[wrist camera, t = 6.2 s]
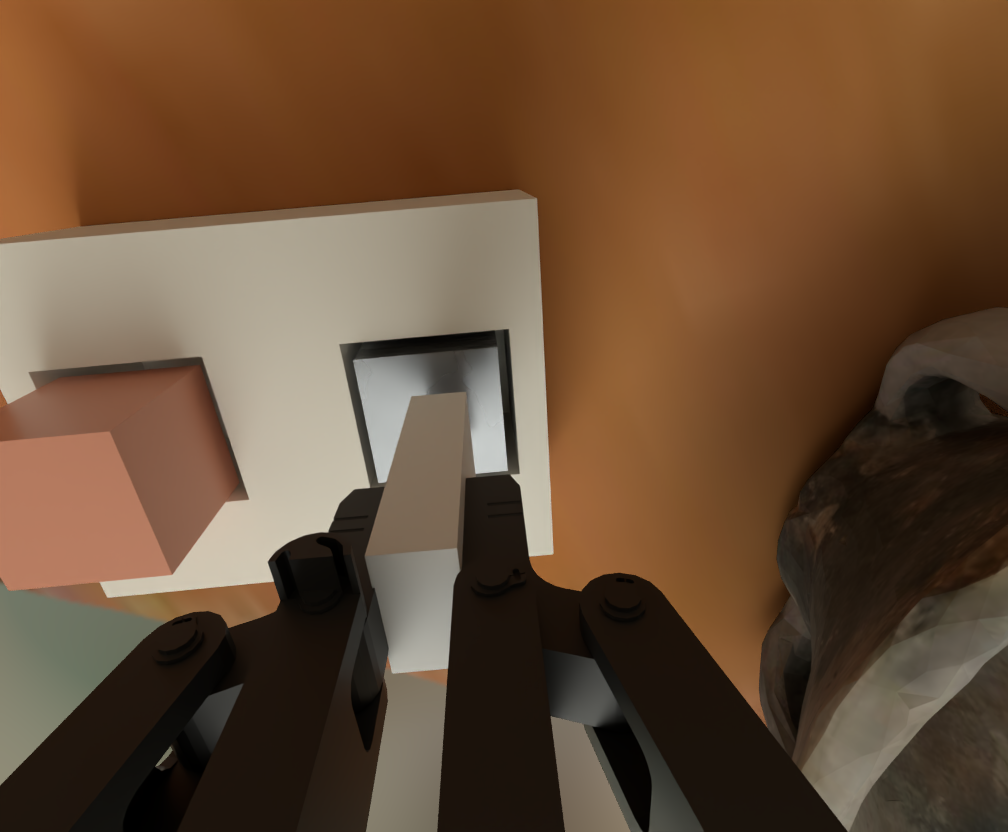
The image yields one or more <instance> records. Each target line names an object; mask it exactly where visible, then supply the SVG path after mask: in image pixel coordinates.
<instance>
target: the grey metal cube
mask: <svg viewBox="0 0 1008 832" xmlns="http://www.w3.org/2000/svg"><path fill="white" fill-rule="evenodd" d="M353 362H354V367H355V372H356V377H357V382H358V387H359V392H360V396H361V401H362V406H363V411H364V416H365V421H366V425H367V430H368V435H369V440H370V445H371V450H372V454H373V459H374V464H375V469H376V474H377V479H378V483H383V482H386V481H387V478H388V474H389V471H390V468H391V464H392V461H393V457H394V454H395V450H396V447H397V444H398V440H399V437H400V433H401V430H402V426H403V423H404V420H405V416H406V413H407V409H408V406H409V402H410V399H411V396H421V395H433V394H444V393H456V392H466V395H467V404H468V412H469V421H470V430H471V438H472V447H473V456H474V465H475V473H476V474H479V473H489V472H500V471H508V468H507V456H506V444H505V432H504V420H503V408H502V397H501V385H500V373H499V361H498V349H497V341H496V335H495V330H491V331H480V332H469V333H458V334H446V335H435V336H424V337H413V338H402V339H391V340H380V341H368V342H364V343H363V344H362V346H361V348H360V349H359V351H358V353H357V354H356V356H355V358H354V359H353Z"/></svg>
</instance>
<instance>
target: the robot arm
mask: <svg viewBox="0 0 1008 832" xmlns="http://www.w3.org/2000/svg"><path fill="white" fill-rule="evenodd" d="M333 519H334V521H332V523H331V526H330V528H329V530H328V532H318V533H314V534H309V535H304V536H302V537H299V538H297V539H295V540H292V541H290V542H288V543H287V544H285V545H284V546H283V547H281V548H280V549H278V550H277V551H276V552H275V553H274V554H273V555H272V557H271V558H270V559H269V560H268V565H269V568H270V571H271V574H272V577H273V580H274V583H275V586H276V589H277V592H278V595H279V598H280V604H279V606H278V608H277V610H276V611H275V612H274V613H271V614H269V615H266V616H264V617H261V618H258V619H255V620H252V621H249V622H246V623H243V624H240V625H237V626H234V627H231V628H228V627H227V624H226V622H225V621H224V620H223V618H222V617H221V615H218V614H215V613H212V612H209V611H206V612H193V613H189V614H186V615H183V616H180V617H177V618H174V619H173V620H171V621H169V622H167V623H165V624H163V625H161V626H160V627H158V628H157V629H156V630H154V631H153V632H152V633H151V634H149V635H148V636H147V637H146V638H145V639H143V641H142V642H140V644H138V646H137V647H136V648H135V649H134V650H133V651H132V652H131V653H130V654H129V655H128V656H127V657H126V658H125V659H124V660H123V661H122V662H121V663H120V664H119V665H118V666H117V667H116V668H115V669H114V670H113V671H112V672H111V673H110V674H109V675H108V676H107V677H106V678H105V679H104V680H103V681H102V682H101V683H100V684H99V685H98V686H97V687H96V688H95V689H94V691H92V692H91V694H89V696H88V697H87V698H86V699H85V700H84V701H83V702H82V703H81V704H80V705H79V706H78V707H77V708H76V709H75V710H74V711H73V712H72V713H71V714H70V715H69V716H68V717H67V718H66V719H65V720H64V721H63V722H62V723H61V724H60V725H59V726H58V727H57V728H56V729H55V730H54V731H53V732H52V733H51V734H50V735H49V736H48V737H47V738H46V739H45V740H44V742H42V744H41V745H40V746H39V747H38V748H37V749H36V750H35V751H34V752H33V753H32V754H31V755H30V756H29V757H28V758H27V759H26V760H25V761H24V762H23V763H22V764H21V765H20V766H19V767H18V768H17V769H16V770H15V771H14V772H13V773H12V774H11V775H10V776H9V777H8V778H7V779H6V780H5V781H4V782H3V783H2V784H1V785H0V832H366V828H367V821H368V816H369V809H370V804H371V798H372V792H373V786H374V780H375V774H376V768H377V762H378V756H379V750H380V744H381V738H382V732H383V725H384V720H385V714H386V708H387V702H388V699H387V688H386V684H385V680H384V672H385V667H386V661H387V656H388V657H389V661H390V666H391V670H392V673H404V672H415V671H426V670H438V669H448V677H447V693H446V708H445V723H444V739H443V753H442V769H441V783H440V784H441V785H440V799H439V814H438V829H437V832H565V828H564V821H563V812H562V805H561V797H560V789H559V781H558V773H557V764H556V757H555V748H554V740H553V733H552V725H551V716H553V717H557V718H561V719H565V720H569V721H573V722H577V723H582V724H584V728H585V730H586V733H587V734H588V737H589V739H590V742H591V744H592V746H593V748H594V751H595V753H596V755H597V757H598V760H599V762H600V764H601V766H602V769H603V771H604V773H605V775H606V777H607V780H608V782H609V784H610V786H611V789H612V791H613V793H614V795H615V797H616V800H617V802H618V804H619V807H620V809H621V811H622V813H623V815H624V818H625V820H626V822H627V824H628V826H629V829H630V831H631V832H848V831H847V830H846V828H845V827H844V826H843V825H842V823H841V822H840V821H839V819H838V818H837V817H836V816H835V814H834V813H833V812H832V810H831V809H830V808H829V807H828V805H827V804H826V803H825V801H824V800H823V799H822V798H821V796H820V795H819V794H818V792H817V791H816V790H815V789H814V787H813V786H812V785H811V783H810V782H809V781H808V780H807V778H806V777H805V776H804V774H803V773H802V772H801V771H800V769H799V768H798V767H797V765H796V764H795V763H794V762H793V760H792V759H791V758H790V757H789V755H788V754H787V753H786V751H785V750H784V749H783V748H782V746H781V745H780V744H779V742H778V741H777V740H776V739H775V737H774V736H773V735H772V733H771V732H770V731H769V730H768V728H767V727H766V726H765V724H764V723H763V722H762V721H761V719H760V718H759V717H758V715H757V714H756V713H755V712H754V710H753V709H752V708H751V706H750V705H749V704H748V703H747V701H746V700H745V699H744V697H743V696H742V695H741V694H740V692H739V691H738V690H737V688H736V687H735V686H734V685H733V683H732V682H731V681H730V679H729V678H728V677H727V676H726V674H725V673H724V672H723V670H722V669H721V668H720V667H719V665H718V664H717V663H716V661H715V660H714V659H713V658H712V656H711V655H710V654H709V653H708V651H707V650H706V649H705V647H704V646H703V645H702V644H701V642H700V641H699V640H698V638H697V637H696V636H695V635H694V633H693V632H692V631H691V629H690V628H689V627H688V626H687V624H686V623H685V622H684V620H683V619H682V618H681V617H680V615H679V614H678V613H677V611H676V610H675V609H674V608H673V606H672V605H671V604H670V602H669V601H668V600H667V599H666V597H665V596H664V595H663V593H662V592H661V591H660V590H659V589H657V588H656V587H655V586H654V585H653V584H652V583H651V582H649V581H647V580H645V579H642V578H640V577H638V576H636V575H630V574H623V573H614V574H605V575H602V576H600V577H598V578H595V579H593V580H591V581H590V582H589V583H588V584H587V585H586V586H585V587H584V588H583V590H582V591H576V590H570V589H565V588H561V587H557V586H554V585H552V584H550V583H548V582H546V581H544V580H543V579H542V578H540V577H539V576H538V575H537V574H536V573H535V571H534V570H533V568H532V566H531V563H530V560H529V552H528V544H527V536H526V528H525V520H524V512H523V504H522V496H521V488H520V485H519V484H518V483H517V482H516V481H515V480H514V479H513V478H512V476H511V475H510V474H506V475H494V476H483V477H476V473H475V465H474V456H473V447H472V438H471V430H470V421H469V412H468V404H467V395H466V392H456V393H444V394H433V395H421V396H411V399H410V402H409V406H408V409H407V413H406V416H405V420H404V423H403V426H402V430H401V433H400V437H399V440H398V444H397V447H396V450H395V454H394V457H393V461H392V464H391V468H390V471H389V474H388V478H387V481H386V485H385V487H374V488H362V489H354V490H353V491H352V492H351V493H350V494H349V495H348V496H347V497H346V498H345V499H344V500H342V501H341V502H340V504H339V506H338V509H337V511H336V513H335V516H334V518H333ZM170 746H171V748H172V750H173V751H172V752H171V754H170V755H169V756H168V757H167V758H166V759H165V760H164V761H163V762H162V763H161V764H160V765H159V766H156V764H157V763H158V762H159V760H160V759H161V758H162V756H163V755H164V754H165V752H166V751H167V750H168V749H169V747H170ZM155 766H156V767H155Z"/></svg>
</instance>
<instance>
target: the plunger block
mask: <svg viewBox="0 0 1008 832" xmlns="http://www.w3.org/2000/svg"><path fill="white" fill-rule="evenodd" d="M491 330H495V335H496V341H497V349H498V361H499V373H500V385H501V397H502V408H503V420H504V432H505V444H506V456H507V468H508V471H500V472H489V473H479V474H476V477H483V476H494V475H506V474H510V475H511V476H512V478H513V479H514V480H515V481H516V482H517V483H518V484H519V485H520V488H521V496H522V504H523V512H524V520H525V528H526V536H527V544H528V552H529V557H530V556H540V555H550V554H553V535H552V513H551V491H550V469H549V447H548V426H547V404H546V382H545V360H544V338H543V317H542V295H541V273H540V251H539V229H538V207H537V198H535V197H533V196H531V195H529V194H527V193H525V192H523V191H521V190H519V189H517V190H505V191H493V192H481V193H470V194H458V195H446V196H434V197H422V198H411V199H399V200H387V201H375V202H363V203H352V204H340V205H328V206H316V207H304V208H293V209H281V210H269V211H257V212H245V213H234V214H222V215H210V216H198V217H186V218H175V219H163V220H151V221H139V222H127V223H115V224H104V225H92V226H80V227H74V228H67V229H61V230H54V231H48V232H42V233H35V234H29V235H22V236H16V237H9V238H3V239H0V390H1V392H2V393H3V395H4V397H5V399H6V401H7V403H8V404H9V403H11V402H13V401H15V400H17V399H19V398H21V397H23V396H25V395H27V394H29V393H31V392H33V391H35V390H36V389H38V388H40V387H42V386H44V385H46V384H48V383H50V382H52V381H54V380H56V379H58V378H60V377H70V376H81V375H93V374H104V373H115V372H126V371H137V370H148V369H159V368H170V367H182V366H193V365H200V366H201V369H202V372H203V375H204V378H205V381H206V384H207V387H208V390H209V393H210V396H211V399H212V402H213V405H214V408H215V411H216V414H217V417H218V420H219V423H220V426H221V429H222V432H223V434H224V437H225V440H226V443H227V446H228V449H229V452H230V455H231V458H232V461H233V464H234V467H235V470H236V473H237V476H238V479H239V482H240V483H239V484H238V486H237V487H236V488H235V490H234V491H233V492H232V494H231V495H230V496H229V498H228V499H227V501H226V502H225V503H224V505H223V506H222V507H221V509H220V510H219V512H218V513H217V514H216V516H215V517H214V518H213V520H212V521H211V523H210V524H209V525H208V527H207V528H206V529H205V531H204V532H203V534H202V535H201V536H200V538H199V539H198V540H197V542H196V543H195V545H194V546H193V547H192V549H191V550H190V551H189V553H188V554H187V555H186V557H185V558H184V560H183V561H182V562H181V564H180V565H179V566H178V568H177V569H176V571H175V572H174V573H173V575H167V576H157V577H146V578H136V579H126V580H115V581H105V582H100V584H101V586H102V588H103V590H104V592H105V594H106V595H107V597H108V598H110V597H120V596H130V595H140V594H151V593H161V592H171V591H181V590H192V589H202V588H212V587H222V586H233V585H243V584H253V583H263V582H274V580H273V577H272V574H271V571H270V568H269V565H268V560H269V559H270V558H271V557H272V555H273V554H274V553H275V552H276V551H277V550H278V549H280V548H281V547H283V546H284V545H285V544H287V543H288V542H290V541H292V540H295V539H297V538H299V537H302V536H304V535H309V534H314V533H318V532H328V530H329V528H330V526H331V523H332V521H334V519H333V518H334V516H335V513H336V511H337V509H338V506H339V504H340V502H341V501H342V500H344V499H345V498H346V497H347V496H348V495H349V494H350V493H351V492H352V491H353V490H354V489H362V488H374V487H385V485H386V482H383V483H378V479H377V474H376V469H375V464H374V459H373V454H372V450H371V445H370V440H369V435H368V430H367V425H366V421H365V416H364V411H363V406H362V401H361V396H360V392H359V387H358V382H357V377H356V372H355V367H354V362H353V359H354V358H355V356H356V354H357V353H358V351H359V349H360V348H361V346H362V344H363V343H364V342H368V341H380V340H391V339H402V338H413V337H424V336H435V335H446V334H458V333H469V332H480V331H491Z"/></svg>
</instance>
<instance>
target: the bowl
mask: <svg viewBox="0 0 1008 832" xmlns="http://www.w3.org/2000/svg"><path fill="white" fill-rule="evenodd" d="M979 393H981V394H982V395H984V396H986V397H988V398H989V399H991V400H992V401H994V402H995V403H996V404H998V405H999V406H1000V407H1002V408H1003V409H1004V410H1006V411H1007V412H1008V308H1001V307H995V308H990V309H986V310H982V311H978V312H973V313H969V314H965V315H961V316H956V317H952V318H948V319H944V320H941V321H939V322H937V323H935V324H932V325H930V326H928V327H926V328H924V329H921V330H919V331H917V332H915V333H913V334H911V335H909V336H908V337H907V338H906V339H905V340H904V341H903V342H902V343H901V344H900V345H899V346H898V347H897V348H896V350H895V351H894V353H893V355H892V356H891V358H890V360H889V361H888V363H887V365H886V369H885V372H884V376H883V379H882V383H881V387H880V390H879V394H878V396H877V399H876V402H875V404H874V407H873V409H872V410H871V411H870V412H869V413H868V414H867V415H866V416H865V417H864V418H863V419H862V420H861V421H860V422H859V423H858V424H857V425H856V426H855V428H854V429H853V430H852V431H851V432H850V434H849V435H848V436H847V437H846V439H845V440H844V442H843V443H842V445H841V447H840V448H839V449H838V450H837V451H836V452H835V453H834V454H833V455H832V456H831V457H830V458H829V459H828V460H827V461H826V462H825V463H824V464H823V465H822V466H821V467H820V468H819V469H818V470H817V471H816V472H815V473H814V474H813V475H812V476H811V477H810V478H809V479H808V480H807V482H806V484H805V485H804V487H803V488H802V490H801V491H800V496H799V500H798V505H797V506H796V507H795V508H793V509H792V510H791V511H790V513H789V515H788V517H787V519H786V520H785V522H784V525H783V528H782V531H781V534H780V537H779V540H778V549H777V563H778V567H779V571H780V575H781V579H782V580H783V582H784V584H785V586H786V588H787V589H788V591H789V593H790V595H791V596H790V597H789V599H788V600H787V602H786V604H785V605H784V607H783V609H782V610H781V612H780V613H779V615H778V616H777V618H776V619H775V621H774V622H773V624H772V625H771V627H770V628H769V630H768V632H767V634H766V636H765V639H764V641H763V643H762V652H761V664H760V677H759V693H760V702H761V706H762V710H763V713H764V717H765V720H766V724H767V727H768V730H769V731H770V732H771V733H772V735H773V736H774V737H775V739H776V740H777V741H778V742H779V744H780V745H781V746H782V748H783V749H784V750H785V751H786V753H787V754H788V755H789V757H790V758H791V759H792V760H793V762H794V763H795V764H796V765H797V767H798V768H799V769H800V771H801V772H802V773H803V774H804V776H805V777H806V778H807V780H808V781H809V782H810V783H811V785H812V786H813V787H814V789H815V790H816V791H817V792H818V794H819V795H820V796H821V798H822V799H823V800H824V801H825V803H826V804H827V805H828V807H829V808H830V809H831V810H832V812H833V813H834V814H835V816H836V817H837V818H838V819H839V821H840V822H841V823H842V825H843V826H844V827H845V828H846V830H847V831H848V832H1008V417H1006V416H1002V415H997V414H992V413H990V411H989V410H988V409H987V408H986V406H985V405H984V404H983V402H982V401H981V400H980V396H979Z"/></svg>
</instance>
